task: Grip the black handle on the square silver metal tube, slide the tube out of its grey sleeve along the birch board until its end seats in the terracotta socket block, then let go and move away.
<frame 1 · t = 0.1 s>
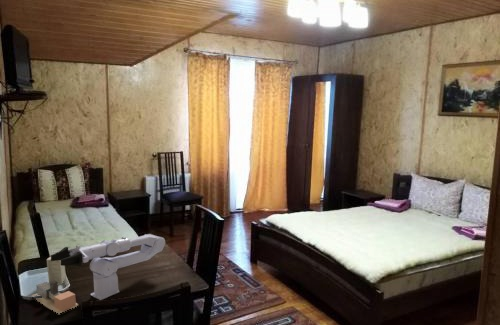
hand: (56, 260, 147), 22 cm above the table, tool horizontal, fingers open, 7 cm apart
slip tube: (51, 288, 158), point 5 cm above the table, slide at 0.0 cm
skincare box: (57, 282, 176), on the table
socket block: (65, 308, 153), resting on birch board
grey sleeve: (46, 297, 162), resting on birch board
birch board: (54, 301, 158), on the table
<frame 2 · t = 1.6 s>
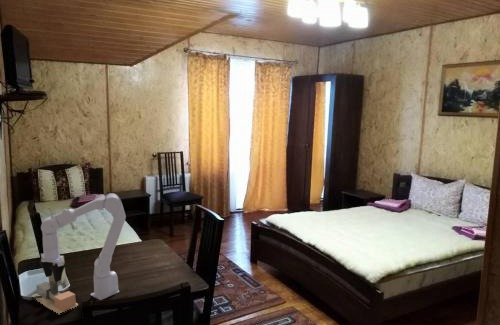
hand: (53, 278, 156), 10 cm above the table, tool pointing down, fingers open, 7 cm apart
nothing on the table moved.
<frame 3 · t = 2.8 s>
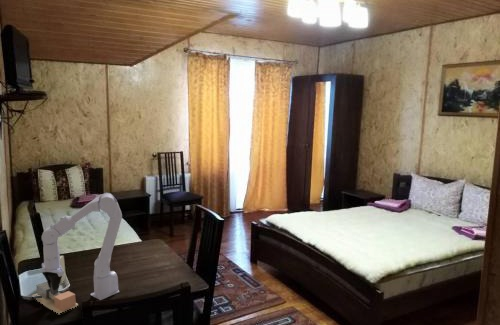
hand: (54, 288, 157), 6 cm above the table, tool pointing down, fingers closed on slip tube, 2 cm apart
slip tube: (51, 288, 158), point 5 cm above the table, slide at 0.0 cm, touching gripper
everything else where it was.
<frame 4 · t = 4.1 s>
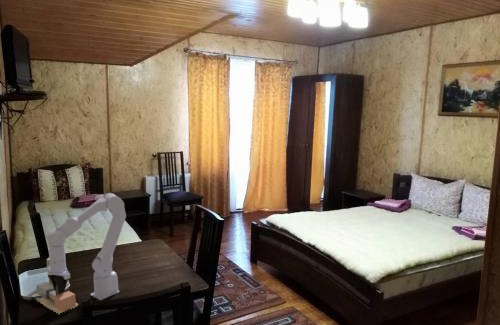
hand: (59, 291, 154), 6 cm above the table, tool pointing down, fingers open, 3 cm apart
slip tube: (56, 291, 156), point 5 cm above the table, slide at 4.5 cm, touching gripper
everything else where it was.
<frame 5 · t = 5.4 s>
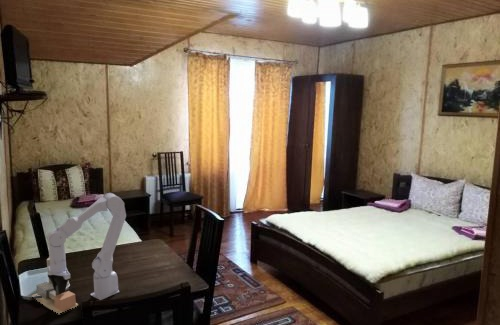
hand: (59, 291, 154), 6 cm above the table, tool pointing down, fingers open, 3 cm apart
nothing on the table moved.
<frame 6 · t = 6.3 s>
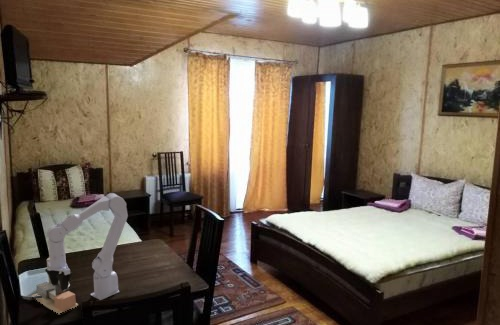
hand: (59, 286, 154), 8 cm above the table, tool pointing down, fingers open, 7 cm apart
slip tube: (56, 291, 156), point 5 cm above the table, slide at 4.4 cm
everything else where it was.
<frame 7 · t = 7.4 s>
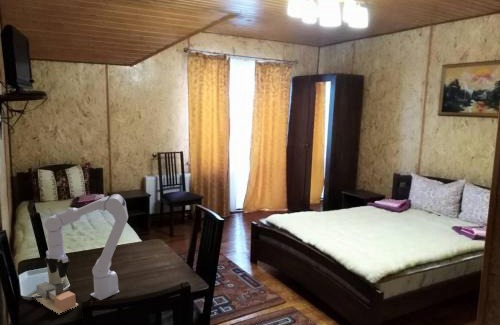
hand: (58, 274, 160), 10 cm above the table, tool pointing down, fingers open, 7 cm apart
nothing on the table moved.
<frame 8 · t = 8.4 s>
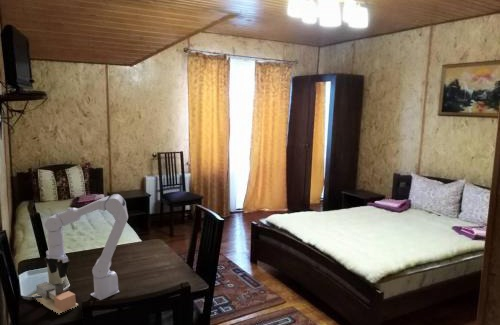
hand: (58, 274, 160), 10 cm above the table, tool pointing down, fingers open, 7 cm apart
nothing on the table moved.
at the end: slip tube slide at 4.4 cm; the gripper is holding nothing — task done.
